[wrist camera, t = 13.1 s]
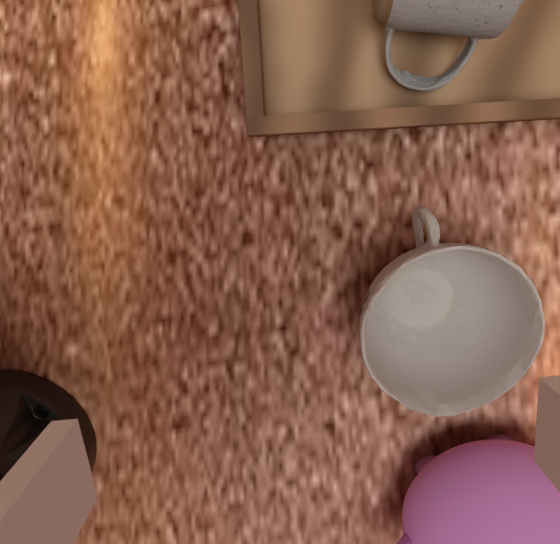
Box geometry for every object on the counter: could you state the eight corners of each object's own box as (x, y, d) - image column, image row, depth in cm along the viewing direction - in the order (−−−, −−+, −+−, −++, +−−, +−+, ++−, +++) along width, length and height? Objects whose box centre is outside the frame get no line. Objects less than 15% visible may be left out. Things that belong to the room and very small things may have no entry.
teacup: (499, 350, 38) (552, 401, 30) (359, 375, 39) (375, 431, 31) (485, 181, 34) (540, 190, 26) (329, 214, 35) (339, 231, 28)
